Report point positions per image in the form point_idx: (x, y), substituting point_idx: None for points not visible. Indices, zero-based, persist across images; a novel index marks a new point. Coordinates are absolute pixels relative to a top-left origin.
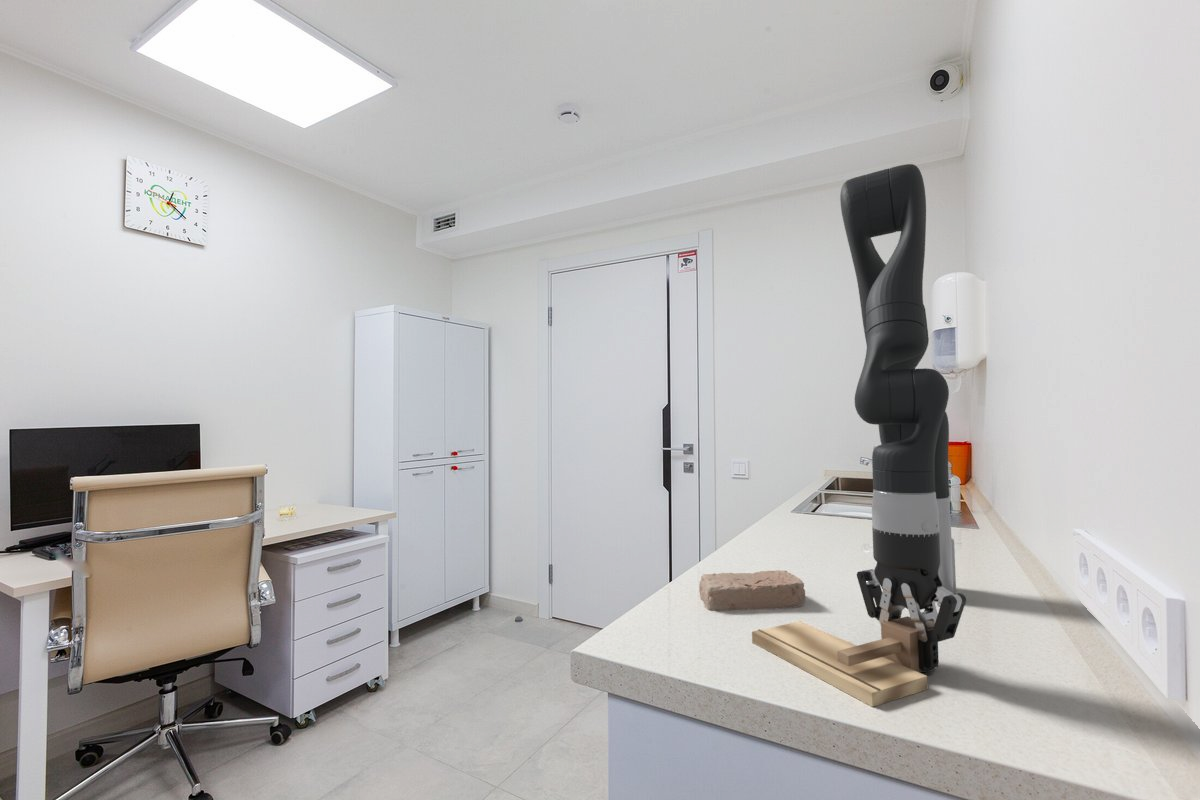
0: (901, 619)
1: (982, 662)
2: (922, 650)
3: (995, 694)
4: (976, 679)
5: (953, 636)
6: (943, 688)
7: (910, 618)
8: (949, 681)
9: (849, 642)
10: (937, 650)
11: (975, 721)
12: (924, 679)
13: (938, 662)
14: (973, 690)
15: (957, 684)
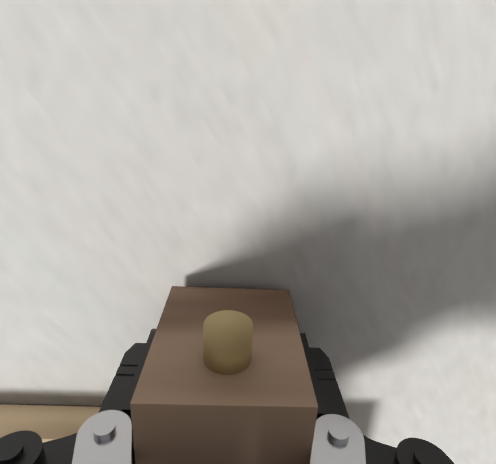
0: (153, 460)
1: (346, 71)
2: None
3: (475, 295)
4: (397, 246)
5: (442, 456)
6: (362, 376)
7: (163, 416)
8: (351, 327)
9: (49, 438)
10: (340, 397)
11: (484, 449)
12: None
13: (329, 360)
14: (422, 322)
15: (375, 325)
